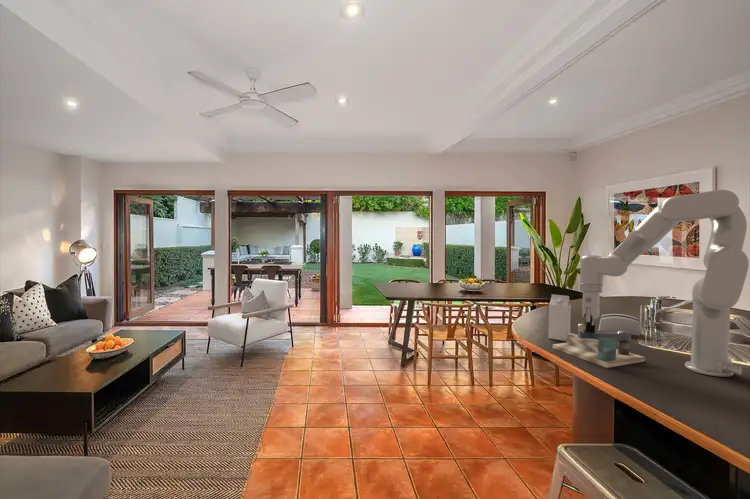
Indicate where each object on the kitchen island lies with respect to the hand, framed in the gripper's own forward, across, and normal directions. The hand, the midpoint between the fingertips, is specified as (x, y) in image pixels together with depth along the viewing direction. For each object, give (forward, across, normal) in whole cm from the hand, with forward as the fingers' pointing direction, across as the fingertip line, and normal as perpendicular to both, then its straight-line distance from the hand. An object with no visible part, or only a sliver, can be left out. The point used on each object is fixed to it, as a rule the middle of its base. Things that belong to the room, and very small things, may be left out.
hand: (589, 335), depth 150 cm
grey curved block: (+8, +43, -7) cm, 44 cm away
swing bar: (+1, -1, -5) cm, 5 cm away
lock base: (+7, 0, -2) cm, 7 cm away
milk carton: (+7, +16, +14) cm, 22 cm away
